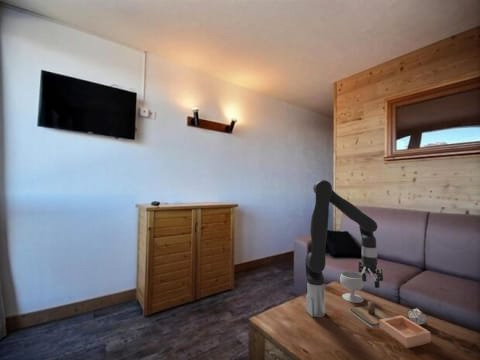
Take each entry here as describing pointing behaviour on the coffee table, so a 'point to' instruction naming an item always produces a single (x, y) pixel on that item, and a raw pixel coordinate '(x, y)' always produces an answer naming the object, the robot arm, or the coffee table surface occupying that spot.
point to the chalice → (352, 285)
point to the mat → (364, 321)
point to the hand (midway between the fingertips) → (370, 284)
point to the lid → (370, 313)
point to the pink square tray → (405, 331)
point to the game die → (417, 316)
